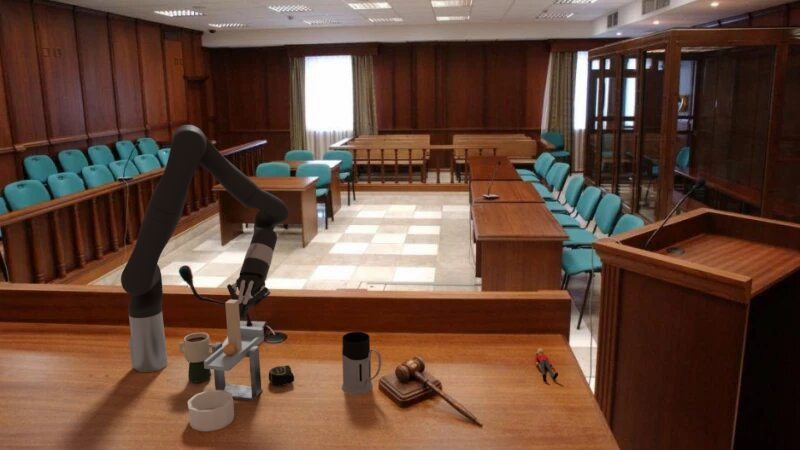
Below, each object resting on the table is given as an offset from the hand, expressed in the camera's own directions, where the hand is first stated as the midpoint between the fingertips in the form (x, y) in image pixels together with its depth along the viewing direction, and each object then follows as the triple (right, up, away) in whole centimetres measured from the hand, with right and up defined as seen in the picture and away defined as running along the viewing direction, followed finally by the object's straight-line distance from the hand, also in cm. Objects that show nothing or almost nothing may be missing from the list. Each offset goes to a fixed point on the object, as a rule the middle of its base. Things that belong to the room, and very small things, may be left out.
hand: (239, 318), depth 173 cm
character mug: (-14, -19, +10) cm, 26 cm away
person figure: (+87, -17, +16) cm, 90 cm away
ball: (-2, -9, -4) cm, 10 cm away
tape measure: (+10, -20, +9) cm, 24 cm away
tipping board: (-1, -9, -1) cm, 9 cm away
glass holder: (+34, -21, +3) cm, 40 cm away
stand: (-1, -21, +2) cm, 21 cm away
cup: (-4, -24, -11) cm, 27 cm away
